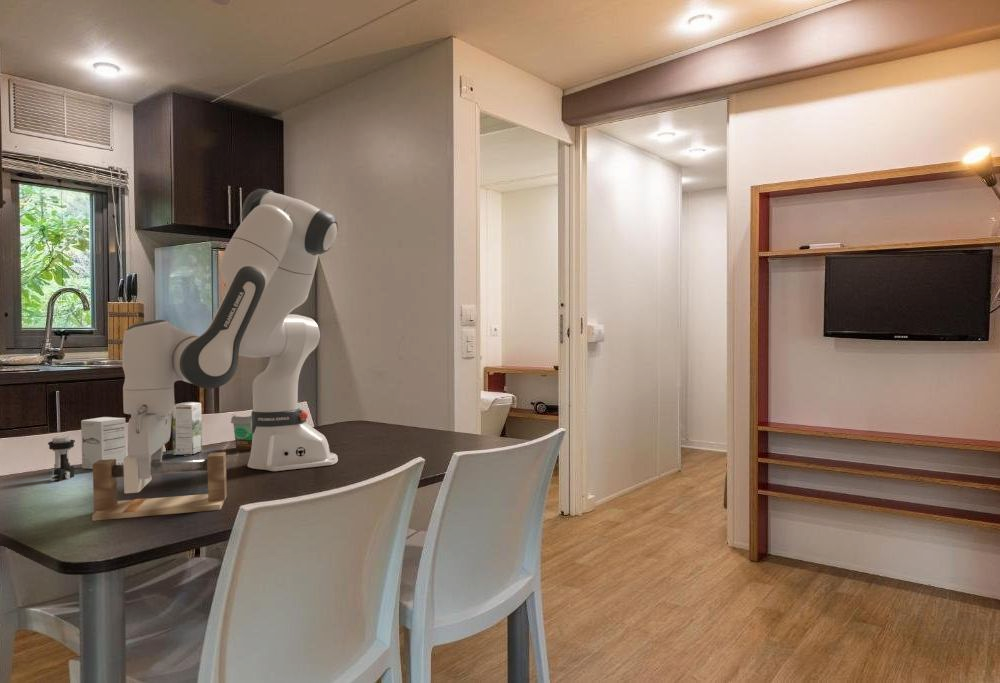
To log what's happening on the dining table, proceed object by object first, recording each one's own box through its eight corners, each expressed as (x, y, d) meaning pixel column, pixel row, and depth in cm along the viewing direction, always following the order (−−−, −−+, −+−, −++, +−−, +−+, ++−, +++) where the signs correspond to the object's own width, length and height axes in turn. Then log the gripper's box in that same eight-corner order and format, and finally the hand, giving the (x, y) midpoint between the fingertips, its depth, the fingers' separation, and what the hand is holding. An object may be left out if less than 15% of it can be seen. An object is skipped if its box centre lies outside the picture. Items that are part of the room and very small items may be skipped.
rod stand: (228, 497, 139) (227, 449, 138) (222, 509, 129) (221, 458, 129) (104, 507, 132) (103, 457, 132) (89, 520, 123) (87, 467, 122)
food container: (222, 451, 192) (221, 416, 192) (234, 447, 198) (233, 414, 198) (262, 451, 190) (261, 417, 190) (272, 448, 196) (272, 414, 196)
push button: (61, 482, 154) (60, 440, 154) (39, 482, 155) (38, 440, 154) (80, 476, 161) (79, 435, 161) (59, 476, 161) (58, 435, 161)
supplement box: (81, 469, 170) (79, 420, 170) (107, 463, 177) (106, 416, 176) (101, 470, 167) (100, 421, 167) (127, 465, 174) (126, 417, 174)
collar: (151, 479, 135) (150, 447, 135) (138, 492, 124) (137, 457, 124) (138, 480, 134) (137, 448, 134) (124, 493, 124) (123, 458, 124)
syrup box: (182, 452, 192) (181, 402, 191) (202, 451, 191) (201, 401, 191) (172, 456, 186) (171, 404, 186) (193, 455, 186) (191, 404, 185)
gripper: (155, 408, 121) (157, 483, 121) (176, 397, 140) (178, 462, 140) (116, 409, 119) (118, 486, 119) (143, 398, 138) (144, 464, 139)
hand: (151, 473), depth 130 cm, fingers open, 8 cm apart
